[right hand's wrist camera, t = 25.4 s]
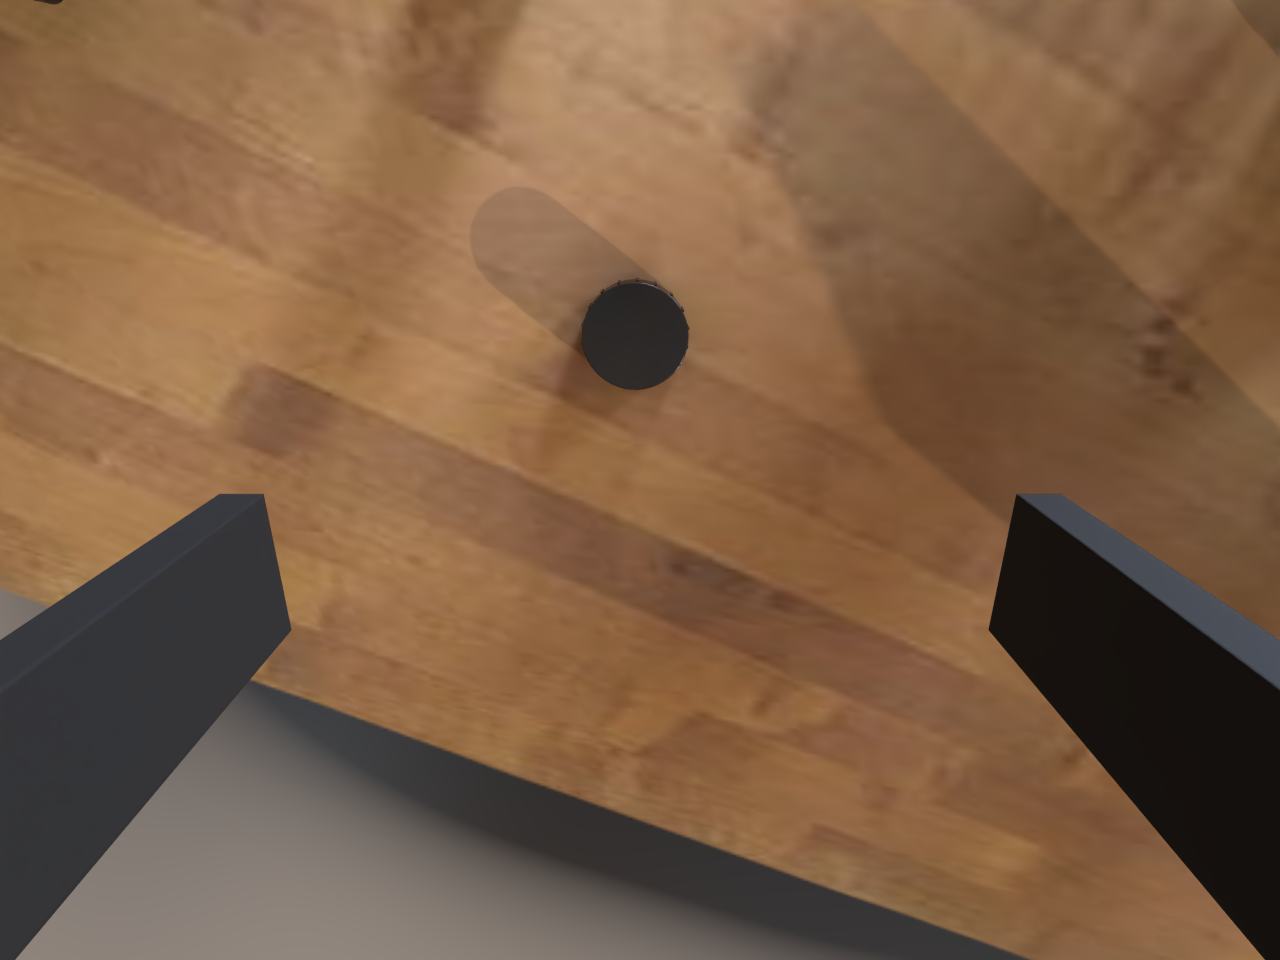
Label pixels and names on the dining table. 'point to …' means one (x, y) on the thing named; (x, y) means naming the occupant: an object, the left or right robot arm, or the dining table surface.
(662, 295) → the lid
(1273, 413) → the dining table surface
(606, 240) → the dining table surface
